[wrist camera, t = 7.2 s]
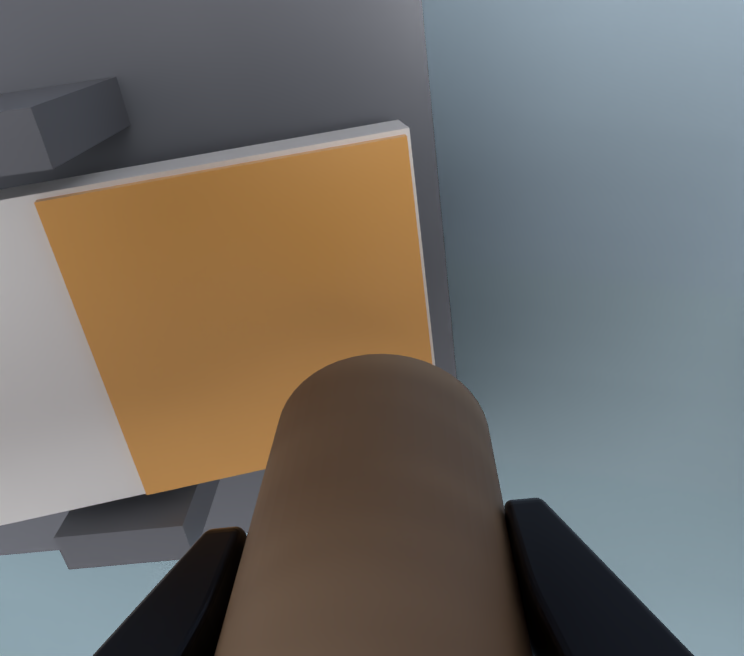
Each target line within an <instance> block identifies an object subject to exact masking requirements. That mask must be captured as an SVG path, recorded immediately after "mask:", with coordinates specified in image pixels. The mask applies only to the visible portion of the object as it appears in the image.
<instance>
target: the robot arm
mask: <svg viewBox="0 0 744 656" xmlns="http://www.w3.org/2000/svg"><path fill="white" fill-rule="evenodd" d="M504 513H505V520H506V524H507V529H508V534H509V539H510V543H511V548H512V553H513V558H514V562H515V567H516V572H517V577H518V582H519V587H520V592H521V597H522V602H523V608H524V613H525V618H526V623H527V628H528V633H529V638H530V643H531V649H532V654H533V656H694V655H693V654H692V653H691V652H690V651H689V650H688V649H687V648H686V647H685V646H684V645H683V644H682V643H681V642H680V641H679V640H678V639H677V638H676V637H675V636H674V635H673V634H672V632H671V631H670V630H669V629H668V628H667V627H666V626H665V625H664V624H663V623H662V622H661V621H660V620H659V619H658V618H657V617H656V616H655V615H654V614H653V613H652V612H651V611H650V610H649V609H648V608H647V607H646V606H645V605H644V604H643V603H642V602H641V601H640V600H639V598H638V597H637V596H636V595H635V594H634V593H633V592H632V591H631V590H630V589H629V588H628V587H627V586H626V585H625V584H624V583H623V582H622V581H621V580H620V579H619V578H618V577H617V576H616V575H615V574H614V573H613V572H612V571H611V570H610V569H609V568H608V567H607V565H606V564H605V563H604V562H603V561H602V560H601V559H600V558H599V557H598V556H597V555H596V554H595V553H594V552H593V551H592V550H591V549H590V548H589V547H588V546H587V545H586V544H585V543H584V542H583V541H582V540H581V539H580V538H579V537H578V536H577V535H576V534H575V532H574V531H573V530H572V529H571V528H570V527H569V526H568V525H567V524H566V523H565V522H564V521H563V520H562V519H561V518H560V517H559V516H558V515H557V514H556V513H555V512H554V511H553V510H552V509H551V508H550V507H549V506H548V505H547V504H546V503H545V502H544V501H543V500H542V499H539V498H528V499H517V500H510V501H508V502H506V504H505V508H504ZM246 538H247V536H246V533H245V532H244V530H243V529H242V528H240V527H226V528H215V529H210V530H208V531H206V532H205V533H204V534H203V535H202V536H201V537H200V538H199V539H198V540H197V541H196V542H195V543H194V545H193V546H192V547H191V548H190V549H189V550H188V551H187V552H186V553H185V554H184V556H183V557H182V558H181V559H180V560H179V561H178V562H177V563H176V564H175V565H174V567H173V568H172V569H171V570H170V571H169V572H168V573H167V574H166V575H165V576H164V578H163V579H162V580H161V581H160V582H159V583H158V584H157V585H156V586H155V587H154V589H153V590H152V591H151V592H150V593H149V594H148V595H147V596H146V597H145V599H144V600H143V601H142V602H141V603H140V604H139V605H138V606H137V607H136V608H135V610H134V611H133V612H132V613H131V614H130V615H129V616H128V617H127V618H126V619H125V621H124V622H123V623H122V624H121V625H120V626H119V627H118V628H117V629H116V630H115V632H114V633H113V634H112V635H111V636H110V637H109V638H108V639H107V640H106V641H105V643H104V644H103V645H102V646H101V647H100V648H99V649H98V650H97V651H96V652H95V654H94V655H93V656H214V655H215V651H216V647H217V644H218V640H219V636H220V633H221V629H222V625H223V622H224V618H225V615H226V611H227V607H228V604H229V600H230V596H231V593H232V589H233V585H234V582H235V578H236V575H237V571H238V567H239V564H240V560H241V556H242V553H243V549H244V545H245V542H246Z"/></svg>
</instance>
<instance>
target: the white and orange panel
mask: <svg viewBox="0 0 744 656" xmlns="http://www.w3.org/2000/svg"><path fill="white" fill-rule="evenodd" d="M367 354H394V355H402V356H407V357H412V358H416V359H419V360H422V361H425V362H428V363H430V364H432V365H435V358H434V349H433V340H432V331H431V322H430V313H429V303H428V294H427V285H426V276H425V267H424V258H423V248H422V239H421V230H420V221H419V212H418V203H417V194H416V184H415V175H414V166H413V157H412V148H411V139H410V129H409V127H408V126H406V125H405V124H404V123H402V122H401V121H400V120H393V121H387V122H381V123H376V124H370V125H364V126H359V127H353V128H347V129H342V130H336V131H330V132H325V133H319V134H313V135H308V136H302V137H296V138H290V139H285V140H279V141H273V142H268V143H262V144H256V145H251V146H245V147H239V148H234V149H228V150H222V151H217V152H211V153H205V154H199V155H194V156H188V157H182V158H177V159H171V160H165V161H160V162H154V163H148V164H143V165H137V166H131V167H126V168H120V169H114V170H109V171H103V172H97V173H91V174H86V175H80V176H74V177H69V178H63V179H57V180H52V181H46V182H40V183H35V184H29V185H23V186H18V187H12V188H6V189H0V526H1V525H6V524H10V523H15V522H19V521H24V520H28V519H33V518H37V517H42V516H47V515H51V514H56V513H60V512H65V511H69V510H74V509H78V508H83V507H87V506H92V505H96V504H101V503H105V502H110V501H115V500H119V499H124V498H128V497H133V496H137V495H142V494H146V495H150V494H155V493H159V492H164V491H168V490H173V489H178V488H182V487H187V486H191V485H196V484H200V483H205V482H209V481H214V480H218V479H223V478H227V477H232V476H236V475H241V474H245V473H250V472H254V471H259V470H264V469H266V465H267V462H268V458H269V454H270V451H271V447H272V444H273V440H274V436H275V433H276V429H277V425H278V422H279V419H280V415H281V412H282V410H283V408H284V406H285V404H286V402H287V400H288V399H289V397H290V396H291V395H292V393H293V392H294V390H295V389H296V388H297V387H298V386H299V385H300V384H301V383H302V382H303V381H304V380H306V379H307V378H308V377H309V376H311V375H312V374H313V373H315V372H317V371H318V370H320V369H322V368H324V367H325V366H327V365H330V364H332V363H335V362H337V361H340V360H343V359H347V358H350V357H354V356H361V355H367Z"/></svg>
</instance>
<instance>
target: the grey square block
mask: <svg viewBox="0 0 744 656" xmlns="http://www.w3.org/2000/svg"><path fill="white" fill-rule="evenodd" d="M393 120H400V121H401V122H402V123H404V124H405V125H406V126H408V127H409V129H410V139H411V148H412V157H413V166H414V175H415V184H416V194H417V203H418V212H419V221H420V230H421V239H422V248H423V258H424V267H425V276H426V285H427V294H428V303H429V313H430V322H431V331H432V340H433V349H434V358H435V366H437V367H439V368H441V369H443V370H444V371H446V372H448V373H449V374H451V375H452V376H454V377H455V378H456V379H457V376H456V366H455V355H454V344H453V333H452V322H451V312H450V301H449V290H448V279H447V269H446V258H445V247H444V236H443V225H442V215H441V204H440V193H439V182H438V172H437V161H436V150H435V139H434V128H433V118H432V107H431V96H430V85H429V75H428V64H427V53H426V42H425V31H424V21H423V10H422V0H0V189H6V188H12V187H18V186H23V185H29V184H35V183H40V182H46V181H52V180H57V179H63V178H69V177H74V176H80V175H86V174H91V173H97V172H103V171H109V170H114V169H120V168H126V167H131V166H137V165H143V164H148V163H154V162H160V161H165V160H171V159H177V158H182V157H188V156H194V155H199V154H205V153H211V152H217V151H222V150H228V149H234V148H239V147H245V146H251V145H256V144H262V143H268V142H273V141H279V140H285V139H290V138H296V137H302V136H308V135H313V134H319V133H325V132H330V131H336V130H342V129H347V128H353V127H359V126H364V125H370V124H376V123H381V122H387V121H393ZM264 473H265V469H264V470H259V471H254V472H250V473H245V474H241V475H236V476H232V477H227V478H223V479H218V480H214V481H209V482H205V483H200V484H196V485H191V486H187V487H182V488H178V489H173V490H168V491H164V492H159V493H155V494H150V495H146V494H142V495H137V496H133V497H128V498H124V499H119V500H115V501H110V502H105V503H101V504H96V505H92V506H87V507H83V508H78V509H74V510H69V511H65V512H60V513H56V514H51V515H47V516H42V517H37V518H33V519H28V520H24V521H19V522H15V523H10V524H6V525H1V526H0V555H9V554H20V553H31V552H42V551H52V550H60V552H61V554H62V556H63V558H64V560H65V563H66V565H67V567H68V569H79V568H91V567H102V566H113V565H124V564H135V563H146V562H157V561H169V560H180V559H181V558H182V557H183V556H184V554H185V553H186V552H187V551H188V550H189V549H190V548H191V547H192V546H193V545H194V543H195V542H196V541H197V540H198V539H199V538H200V537H201V536H202V535H203V534H204V533H205V532H206V531H208V530H210V529H215V528H226V527H240V528H242V529H243V530H244V532H245V533H248V531H249V527H250V524H251V520H252V516H253V513H254V509H255V505H256V502H257V498H258V494H259V491H260V487H261V484H262V480H263V476H264Z"/></svg>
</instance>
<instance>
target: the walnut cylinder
mask: <svg viewBox="0 0 744 656" xmlns="http://www.w3.org/2000/svg"><path fill="white" fill-rule="evenodd" d="M214 656H533V654H532V649H531V643H530V638H529V633H528V628H527V623H526V618H525V613H524V608H523V602H522V597H521V592H520V587H519V582H518V577H517V572H516V567H515V562H514V558H513V553H512V548H511V543H510V539H509V534H508V529H507V524H506V520H505V513H504V505H503V500H502V495H501V490H500V485H499V480H498V475H497V469H496V464H495V459H494V454H493V449H492V444H491V439H490V434H489V428H488V424H487V421H486V418H485V415H484V412H483V410H482V409H481V407H480V405H479V403H478V401H477V400H476V399H475V397H474V396H473V394H472V393H471V392H470V391H469V390H468V389H467V388H466V387H465V386H464V385H463V384H462V383H461V382H460V381H459V380H457V379H456V378H455V377H454V376H452V375H451V374H449V373H448V372H446V371H444V370H443V369H441V368H439V367H437V366H435V365H432V364H430V363H428V362H425V361H422V360H419V359H416V358H412V357H407V356H402V355H394V354H367V355H361V356H354V357H350V358H347V359H343V360H340V361H337V362H335V363H332V364H330V365H327V366H325V367H324V368H322V369H320V370H318V371H317V372H315V373H313V374H312V375H311V376H309V377H308V378H307V379H306V380H304V381H303V382H302V383H301V384H300V385H299V386H298V387H297V388H296V389H295V390H294V392H293V393H292V395H291V396H290V397H289V399H288V400H287V402H286V404H285V406H284V408H283V410H282V412H281V415H280V419H279V422H278V425H277V429H276V433H275V436H274V440H273V444H272V447H271V451H270V454H269V458H268V462H267V465H266V469H265V473H264V476H263V480H262V484H261V487H260V491H259V494H258V498H257V502H256V505H255V509H254V513H253V516H252V520H251V524H250V527H249V531H248V535H247V538H246V542H245V545H244V549H243V553H242V556H241V560H240V564H239V567H238V571H237V575H236V578H235V582H234V585H233V589H232V593H231V596H230V600H229V604H228V607H227V611H226V615H225V618H224V622H223V625H222V629H221V633H220V636H219V640H218V644H217V647H216V651H215V655H214Z"/></svg>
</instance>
